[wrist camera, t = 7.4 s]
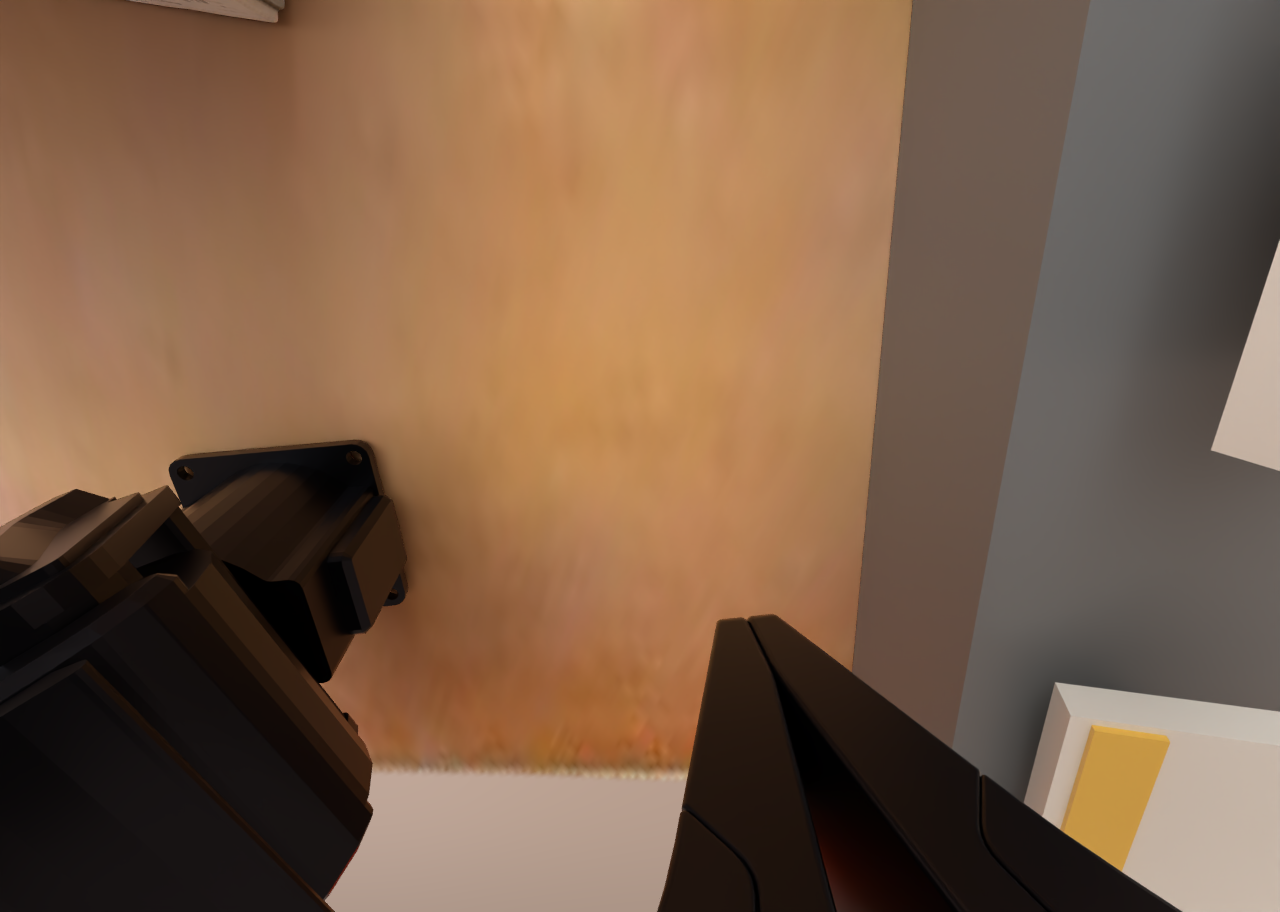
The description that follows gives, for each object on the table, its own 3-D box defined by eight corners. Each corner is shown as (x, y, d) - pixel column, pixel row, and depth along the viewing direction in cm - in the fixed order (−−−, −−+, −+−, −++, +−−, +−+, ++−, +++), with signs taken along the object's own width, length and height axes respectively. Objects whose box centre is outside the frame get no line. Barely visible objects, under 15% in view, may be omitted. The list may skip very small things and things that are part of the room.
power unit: (845, 745, 28) (954, 972, 20) (918, -57, 16) (1258, -332, 8) (1091, 717, 28) (1298, 925, 20) (1329, -79, 17) (2043, -356, 9)
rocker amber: (996, 908, 20) (1007, 954, 19) (1055, 682, 16) (1073, 721, 15) (1333, 985, 18) (1371, 1044, 17) (1496, 739, 14) (1560, 792, 13)
